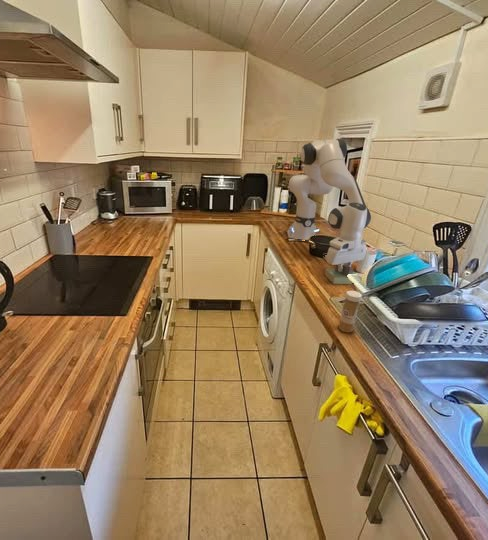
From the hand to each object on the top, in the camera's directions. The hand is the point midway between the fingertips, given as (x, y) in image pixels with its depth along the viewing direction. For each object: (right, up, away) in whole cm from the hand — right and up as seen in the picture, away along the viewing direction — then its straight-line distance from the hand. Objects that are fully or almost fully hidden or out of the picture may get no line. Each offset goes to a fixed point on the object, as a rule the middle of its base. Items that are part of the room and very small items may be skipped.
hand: (343, 270), depth 135 cm
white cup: (+14, 0, +11) cm, 18 cm away
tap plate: (0, -4, +2) cm, 4 cm away
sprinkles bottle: (-14, -19, -35) cm, 43 cm away
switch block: (+6, +5, +23) cm, 24 cm away
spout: (0, -1, 0) cm, 1 cm away
